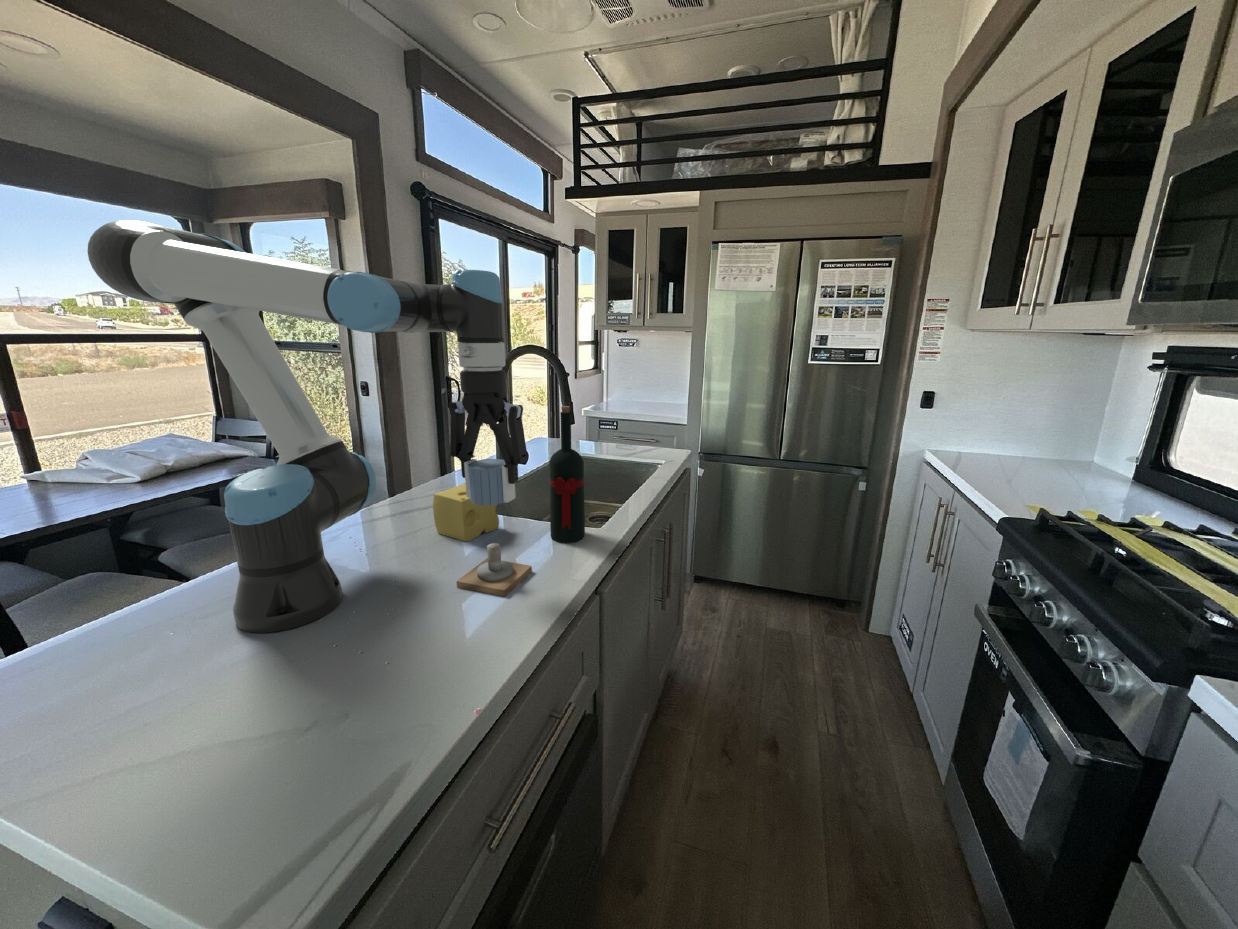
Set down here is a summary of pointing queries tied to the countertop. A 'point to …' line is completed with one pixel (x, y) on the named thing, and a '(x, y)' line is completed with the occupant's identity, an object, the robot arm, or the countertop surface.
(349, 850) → the countertop surface
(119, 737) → the countertop surface
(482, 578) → the wooden square stand
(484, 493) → the cap
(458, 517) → the cheese
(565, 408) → the wine bottle
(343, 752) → the countertop surface
